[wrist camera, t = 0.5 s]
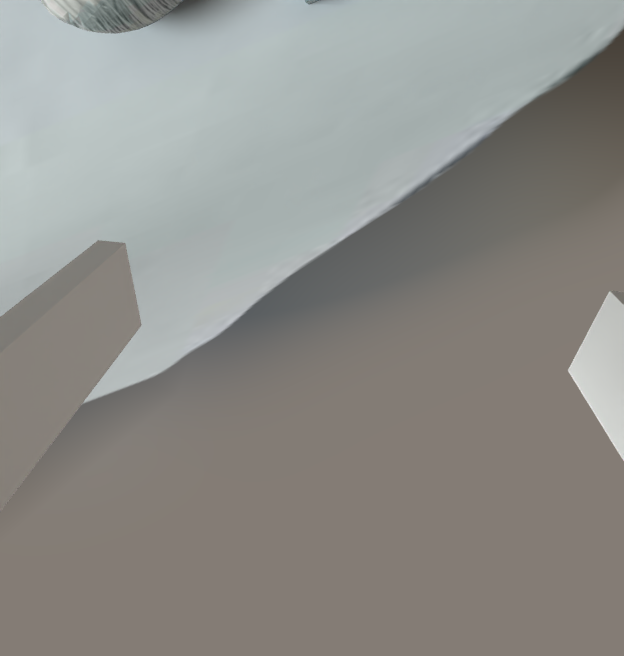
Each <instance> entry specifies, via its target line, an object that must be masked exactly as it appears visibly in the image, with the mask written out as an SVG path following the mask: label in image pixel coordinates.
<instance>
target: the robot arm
mask: <svg viewBox="0 0 624 656" xmlns="http://www.w3.org/2000/svg"><path fill="white" fill-rule="evenodd" d="M140 326H141V320H140V315H139V310H138V305H137V300H136V295H135V290H134V285H133V280H132V275H131V270H130V265H129V260H128V255H127V250H126V245H125V243H119V242H109V241H99V240H98V241H97V242H96V243H94V244H93V245H92V246H91V247H89V248H88V249H87V250H85V251H84V252H83V253H82V254H80V255H79V256H78V257H76V258H75V259H74V260H73V261H71V262H70V263H69V264H68V265H66V266H65V267H64V268H62V269H61V270H60V271H59V272H57V273H56V274H55V275H53V276H52V277H51V278H50V279H48V280H47V281H46V282H44V283H43V284H42V285H41V286H39V287H38V288H37V289H36V290H34V291H33V292H32V293H30V294H29V295H28V296H27V297H25V298H24V299H23V300H21V301H20V302H19V303H18V304H16V305H15V306H14V307H12V308H11V309H10V310H9V311H7V312H6V313H5V314H4V315H2V316H1V317H0V511H1V510H2V509H3V507H4V506H5V505H6V503H7V502H8V501H9V499H10V498H11V497H12V495H13V494H14V493H15V491H16V490H17V489H18V487H19V486H20V485H21V484H22V482H23V481H24V479H25V478H26V477H27V476H28V474H29V473H30V472H31V470H32V469H33V468H34V466H35V465H36V464H37V462H38V461H39V460H40V458H41V457H42V456H43V454H44V453H45V452H46V450H47V449H48V448H49V447H50V445H51V444H52V443H53V441H54V440H55V439H56V437H57V436H58V435H59V433H60V432H61V431H62V429H63V428H64V427H65V425H66V424H67V423H68V421H69V420H70V419H71V418H72V416H73V415H74V413H75V412H76V411H77V409H78V408H79V407H80V406H81V404H82V403H83V402H84V400H85V399H86V398H87V396H88V395H89V394H90V392H91V391H92V390H93V388H94V387H95V386H96V385H97V383H98V382H99V381H100V379H101V378H102V377H103V375H104V374H105V373H106V371H107V370H108V369H109V367H110V366H111V365H112V363H113V362H114V361H115V359H116V358H117V357H118V355H119V354H120V353H121V352H122V350H123V349H124V348H125V346H126V345H127V344H128V342H129V341H130V340H131V338H132V337H133V336H134V334H135V333H136V332H137V330H138V329H139V328H140ZM568 372H569V373H570V375H571V376H572V378H573V380H574V381H575V383H576V384H577V386H578V388H579V389H580V391H581V393H582V394H583V396H584V397H585V399H586V401H587V402H588V404H589V406H590V407H591V409H592V410H593V412H594V413H595V415H596V417H597V419H598V420H599V422H600V423H601V425H602V427H603V428H604V430H605V431H606V433H607V435H608V436H609V438H610V440H611V441H612V443H613V445H614V446H615V448H616V449H617V451H618V452H619V454H620V456H621V457H622V459H623V461H624V292H618V291H610V292H609V293H608V295H607V297H606V299H605V301H604V303H603V305H602V306H601V308H600V310H599V312H598V314H597V316H596V318H595V320H594V322H593V324H592V326H591V328H590V329H589V331H588V333H587V335H586V337H585V339H584V341H583V343H582V345H581V346H580V348H579V350H578V352H577V354H576V356H575V358H574V360H573V362H572V364H571V366H570V368H569V369H568Z"/></svg>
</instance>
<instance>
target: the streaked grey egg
mask: <svg viewBox="0 0 624 656" xmlns="http://www.w3.org/2000/svg"><path fill="white" fill-rule="evenodd" d="M40 1H41V2H42V4H43V5H44V6H45V7H46V8H47V10H48V11H49V12H50V13H51V14H52V15H54V16H56V17H57V18H59V19H60V20H62V21H63V22H65V23H68V24H70V25H73V26H75V27H78V28H81V29H84V30H87V31H92V32H98V33H122V32H128V31H133V30H137V29H140V28H143V27H145V26H148V25H150V24H152V23H154V22H156V21H158V20H159V19H161V18H162V17H163V16H165V15H166V14H168V13H169V12H170V11H172V10H173V9H174V8H175V7H177V6H178V5H179V4H180V3H181V2H182V1H183V0H40Z"/></svg>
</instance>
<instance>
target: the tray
mask: <svg viewBox="0 0 624 656" xmlns="http://www.w3.org/2000/svg"><path fill="white" fill-rule="evenodd" d="M316 1H319V0H305V2H306V3H308V4H311V3H314V2H316Z"/></svg>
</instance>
